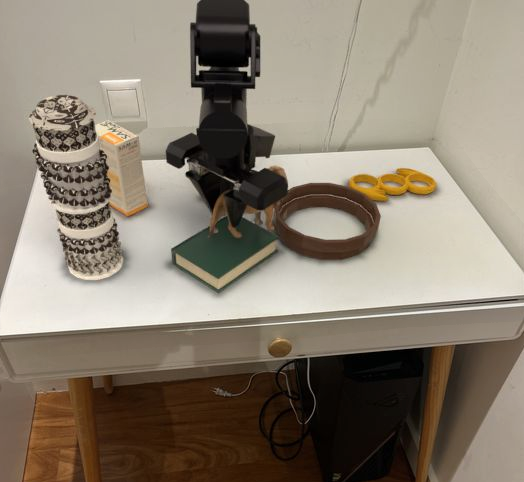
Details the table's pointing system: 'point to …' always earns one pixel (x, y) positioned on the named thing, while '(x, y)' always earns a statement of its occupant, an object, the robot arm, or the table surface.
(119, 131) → the supplement box
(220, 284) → the book
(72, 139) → the decorative candle
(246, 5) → the robot arm
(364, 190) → the novelty glasses
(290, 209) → the ring
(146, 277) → the table surface
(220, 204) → the lion figurine
